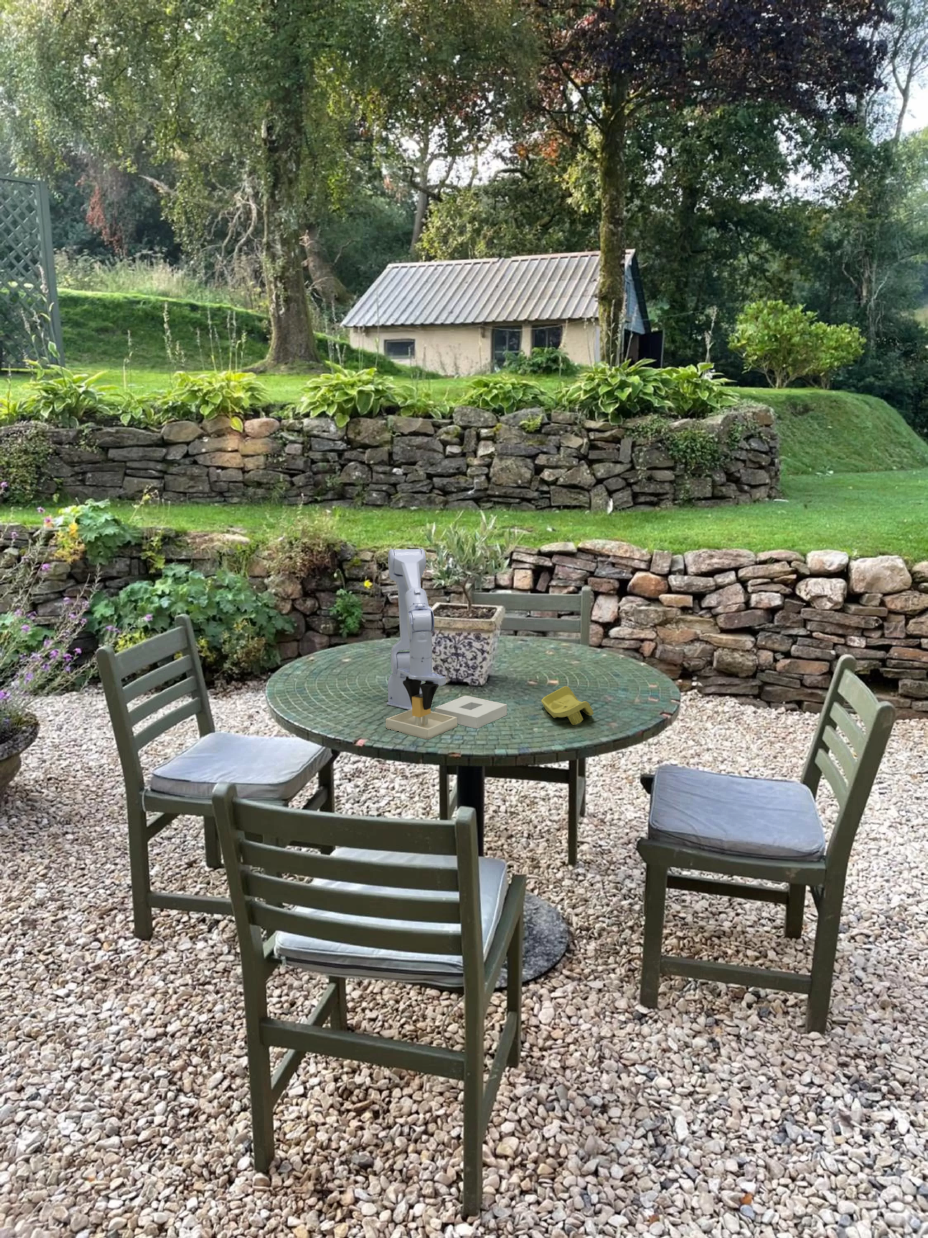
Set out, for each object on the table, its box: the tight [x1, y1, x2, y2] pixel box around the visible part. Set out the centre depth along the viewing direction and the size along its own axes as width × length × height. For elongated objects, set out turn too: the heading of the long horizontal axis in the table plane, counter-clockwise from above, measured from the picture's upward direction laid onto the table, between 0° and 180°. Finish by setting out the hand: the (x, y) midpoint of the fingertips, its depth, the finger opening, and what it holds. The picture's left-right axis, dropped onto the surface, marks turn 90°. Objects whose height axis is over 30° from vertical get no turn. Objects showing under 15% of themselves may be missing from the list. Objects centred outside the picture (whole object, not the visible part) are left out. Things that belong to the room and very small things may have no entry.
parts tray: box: [385, 709, 458, 740], centre depth 214 cm, size 14×12×3 cm
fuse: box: [412, 693, 432, 727], centre depth 213 cm, size 3×4×8 cm, turn 144°
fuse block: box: [434, 695, 508, 729], centre depth 223 cm, size 14×14×3 cm
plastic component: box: [541, 685, 595, 726], centre depth 223 cm, size 20×7×10 cm
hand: (421, 707), depth 213 cm, fingers open, 3 cm apart
